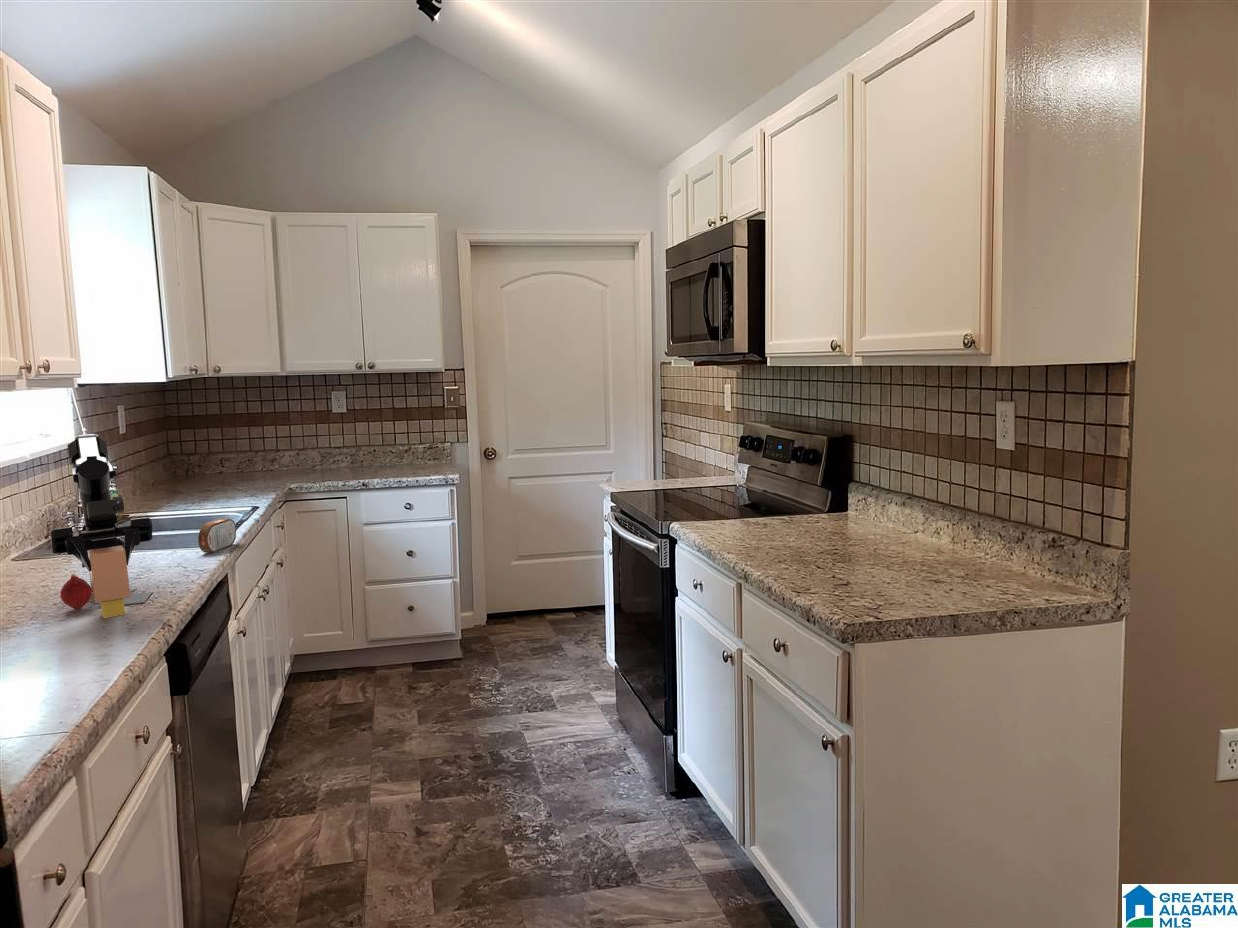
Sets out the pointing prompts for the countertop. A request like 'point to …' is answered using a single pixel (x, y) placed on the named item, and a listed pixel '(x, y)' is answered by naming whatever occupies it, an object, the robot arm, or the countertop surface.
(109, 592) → the tan rectangular block
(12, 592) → the countertop surface
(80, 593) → the onion
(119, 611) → the block
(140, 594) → the mat
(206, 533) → the tin
